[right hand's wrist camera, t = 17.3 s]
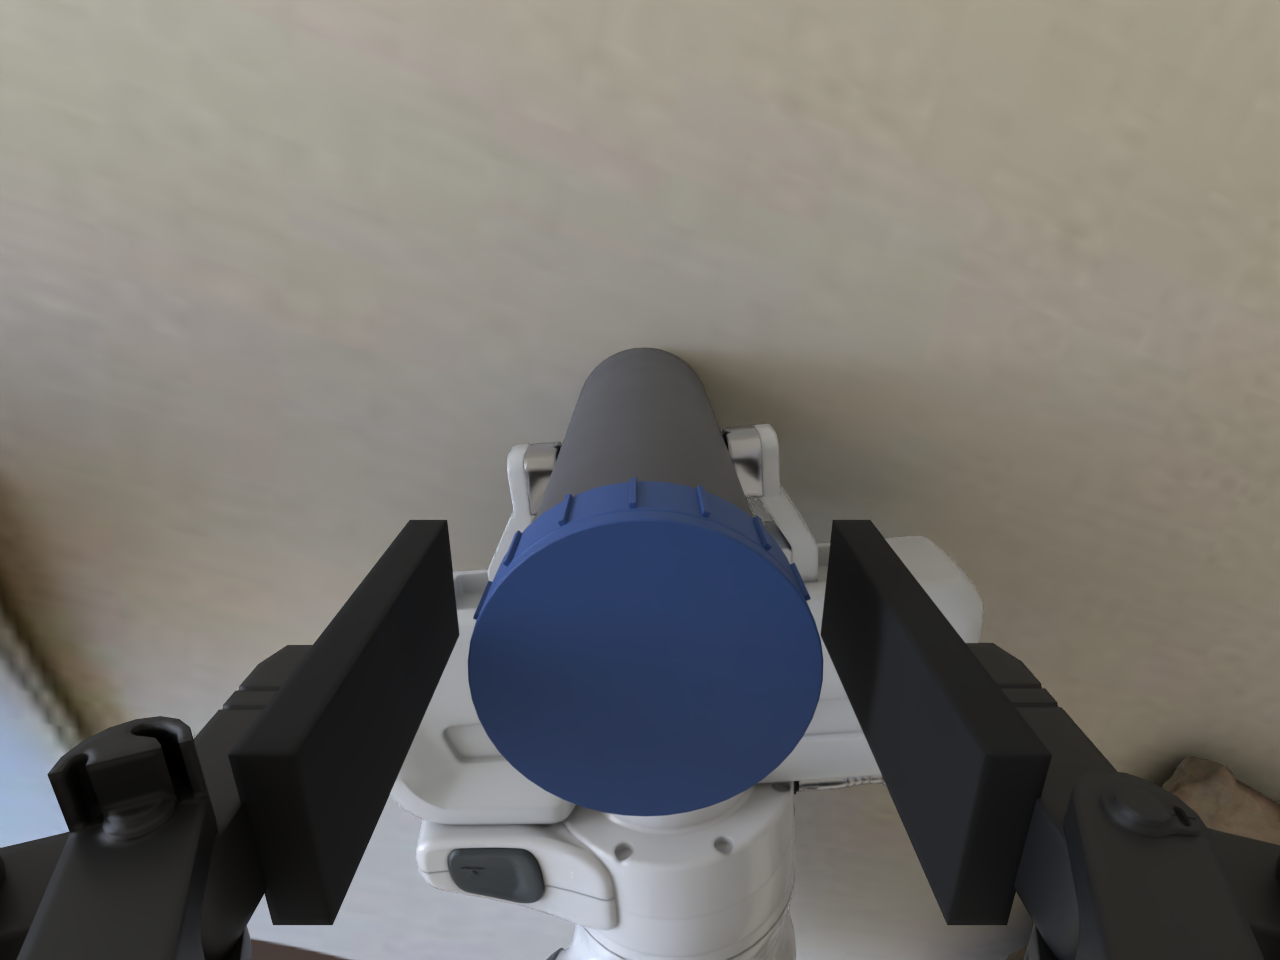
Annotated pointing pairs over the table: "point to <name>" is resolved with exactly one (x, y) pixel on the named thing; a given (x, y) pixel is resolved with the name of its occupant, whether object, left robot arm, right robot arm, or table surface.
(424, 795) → the left robot arm
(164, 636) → the table surface
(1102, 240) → the table surface
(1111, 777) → the right robot arm
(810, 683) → the lid
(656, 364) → the dark grey bottle
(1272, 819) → the stone
